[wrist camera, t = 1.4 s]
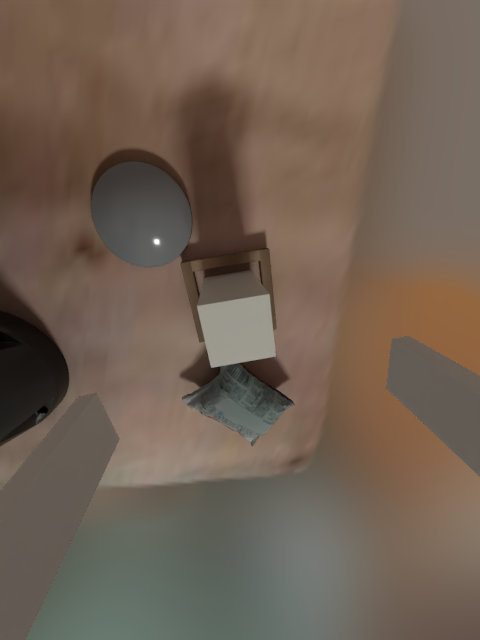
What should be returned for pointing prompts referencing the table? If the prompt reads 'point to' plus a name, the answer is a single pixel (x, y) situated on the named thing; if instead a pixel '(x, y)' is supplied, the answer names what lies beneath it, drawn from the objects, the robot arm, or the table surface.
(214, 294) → the grey block
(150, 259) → the grey disc
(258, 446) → the table surface
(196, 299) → the walnut holder
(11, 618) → the robot arm
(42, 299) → the table surface
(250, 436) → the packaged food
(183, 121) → the table surface
